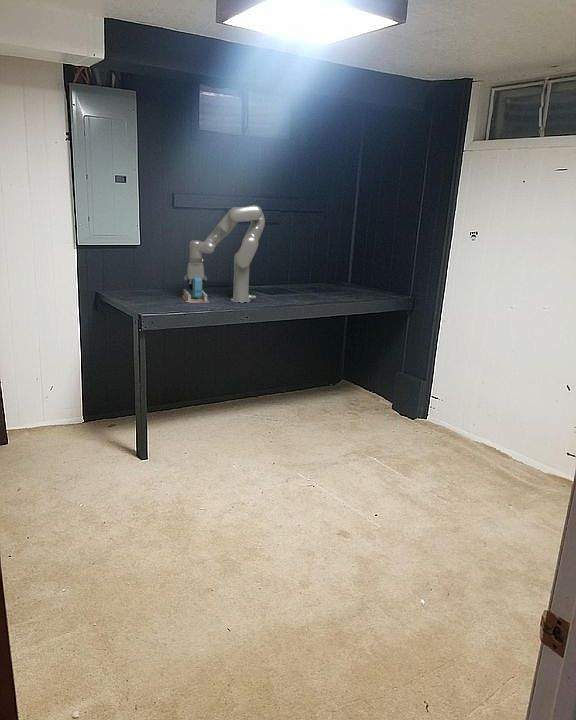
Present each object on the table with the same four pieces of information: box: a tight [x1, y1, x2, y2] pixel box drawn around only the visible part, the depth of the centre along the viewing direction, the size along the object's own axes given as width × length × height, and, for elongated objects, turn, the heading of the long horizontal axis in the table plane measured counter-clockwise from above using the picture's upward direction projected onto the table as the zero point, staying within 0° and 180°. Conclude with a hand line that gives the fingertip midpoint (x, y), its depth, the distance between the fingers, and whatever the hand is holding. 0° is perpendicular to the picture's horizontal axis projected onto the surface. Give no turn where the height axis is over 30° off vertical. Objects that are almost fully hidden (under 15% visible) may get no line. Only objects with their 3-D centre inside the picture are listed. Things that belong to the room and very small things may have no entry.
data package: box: [188, 278, 203, 298], centre depth 364 cm, size 12×4×12 cm, turn 27°
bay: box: [181, 288, 210, 304], centre depth 365 cm, size 20×14×5 cm
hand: (195, 289), depth 364 cm, fingers closed on data package, 5 cm apart
